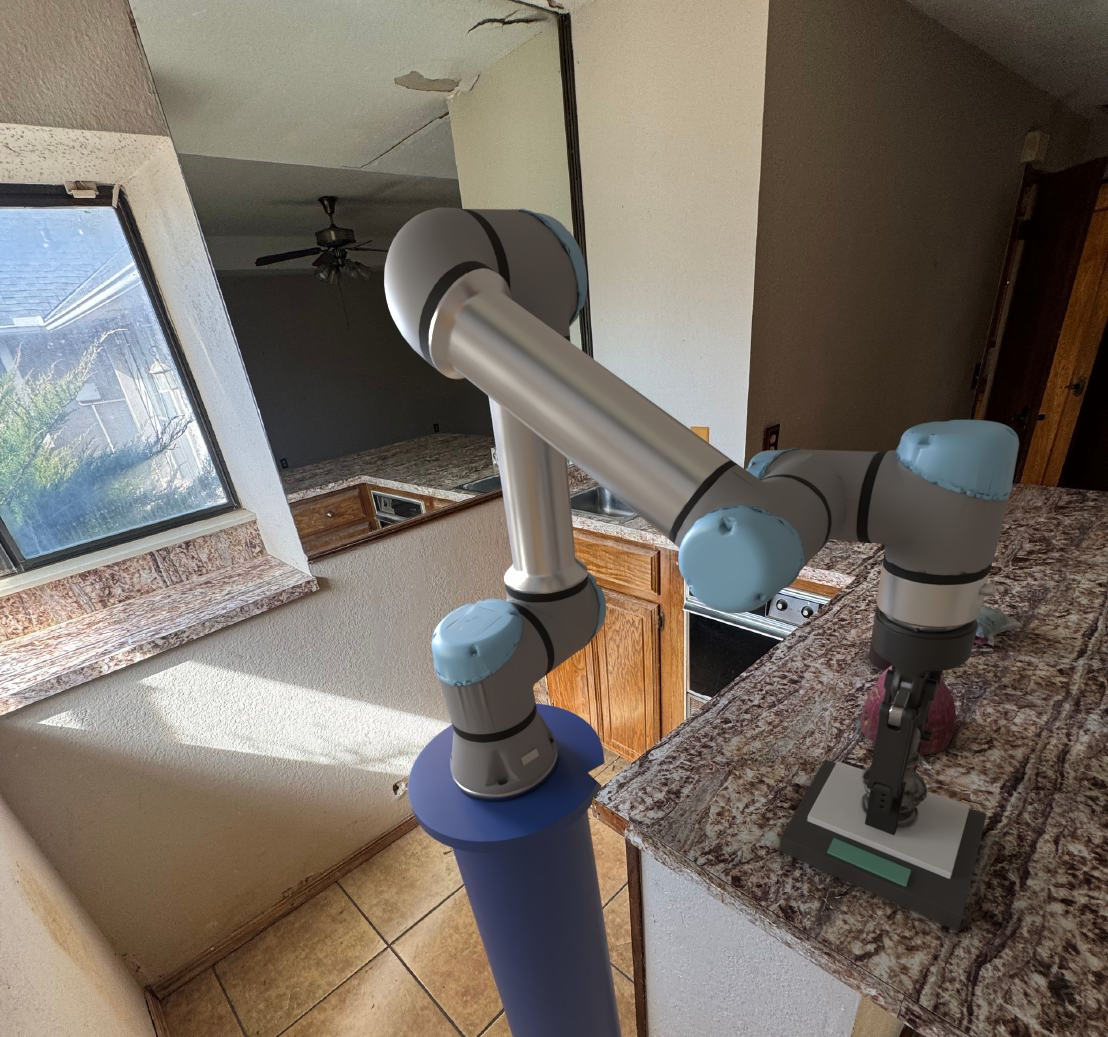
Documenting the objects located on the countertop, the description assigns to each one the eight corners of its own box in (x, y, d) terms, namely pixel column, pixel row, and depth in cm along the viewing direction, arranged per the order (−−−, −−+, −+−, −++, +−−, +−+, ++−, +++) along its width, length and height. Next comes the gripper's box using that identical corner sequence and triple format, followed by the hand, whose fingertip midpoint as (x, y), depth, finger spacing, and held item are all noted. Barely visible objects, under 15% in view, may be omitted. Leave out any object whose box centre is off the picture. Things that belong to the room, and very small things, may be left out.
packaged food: (941, 611, 98) (946, 585, 96) (1020, 635, 89) (1028, 608, 87) (910, 628, 95) (915, 602, 93) (988, 656, 86) (996, 628, 83)
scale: (779, 851, 61) (781, 831, 60) (823, 772, 70) (825, 754, 69) (957, 931, 51) (964, 910, 50) (982, 828, 60) (988, 808, 59)
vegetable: (943, 780, 70) (991, 707, 60) (851, 752, 75) (881, 679, 64) (949, 715, 76) (993, 639, 66) (864, 693, 81) (893, 617, 70)
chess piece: (933, 811, 59) (956, 718, 53) (900, 840, 56) (920, 746, 51) (878, 780, 63) (894, 692, 58) (845, 805, 61) (858, 716, 55)
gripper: (957, 677, 41) (907, 889, 52) (995, 576, 53) (948, 766, 64) (845, 652, 45) (821, 852, 56) (903, 565, 57) (874, 743, 68)
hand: (888, 806), depth 60 cm, fingers closed on chess piece, 6 cm apart
